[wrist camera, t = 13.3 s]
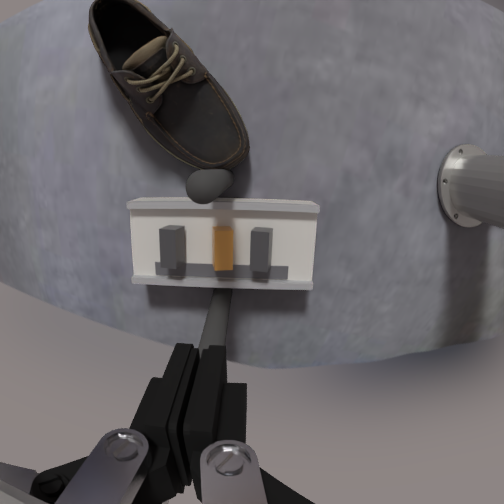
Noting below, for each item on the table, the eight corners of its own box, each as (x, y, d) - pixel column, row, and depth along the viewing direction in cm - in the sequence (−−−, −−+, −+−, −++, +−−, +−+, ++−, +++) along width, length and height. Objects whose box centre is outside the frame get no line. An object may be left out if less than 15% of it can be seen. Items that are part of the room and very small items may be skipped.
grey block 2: (272, 228, 35) (269, 232, 33) (270, 265, 37) (267, 272, 34) (255, 226, 36) (250, 230, 33) (254, 263, 37) (249, 270, 35)
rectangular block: (229, 226, 36) (233, 230, 33) (229, 263, 37) (232, 270, 35) (212, 226, 35) (214, 230, 33) (212, 263, 36) (214, 270, 34)
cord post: (232, 283, 42) (220, 360, 25) (231, 299, 43) (221, 382, 25) (214, 282, 42) (191, 359, 25) (214, 299, 43) (193, 381, 25)
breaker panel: (311, 201, 39) (319, 205, 34) (305, 275, 42) (312, 289, 37) (140, 197, 39) (126, 202, 34) (144, 270, 42) (131, 283, 37)
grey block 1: (184, 225, 35) (175, 230, 33) (185, 262, 36) (176, 269, 34) (169, 224, 36) (158, 228, 33) (170, 261, 37) (160, 267, 34)
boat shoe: (204, 194, 39) (188, 204, 29) (80, 53, 33) (40, 31, 23) (270, 138, 37) (277, 127, 27) (135, 3, 31) (108, -32, 21)
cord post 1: (234, 169, 38) (220, 169, 21) (233, 188, 39) (220, 204, 21) (215, 168, 38) (185, 169, 21) (214, 187, 39) (185, 204, 21)
